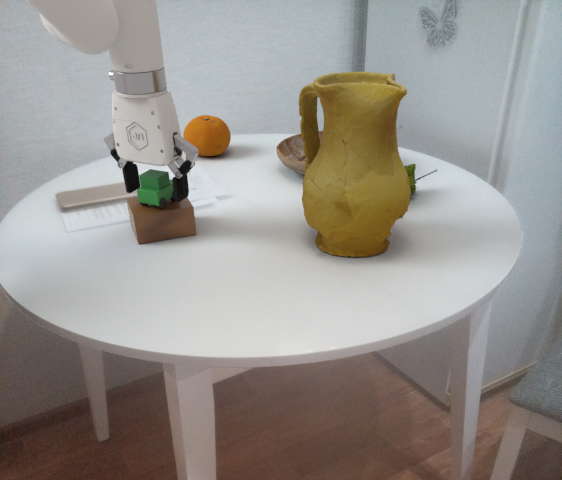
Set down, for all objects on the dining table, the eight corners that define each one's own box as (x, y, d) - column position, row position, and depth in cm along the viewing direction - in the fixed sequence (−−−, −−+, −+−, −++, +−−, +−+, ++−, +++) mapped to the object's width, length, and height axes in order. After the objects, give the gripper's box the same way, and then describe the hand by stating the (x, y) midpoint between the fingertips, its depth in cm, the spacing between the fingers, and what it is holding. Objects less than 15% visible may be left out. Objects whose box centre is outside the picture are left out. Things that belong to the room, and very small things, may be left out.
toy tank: (361, 174, 103) (407, 176, 96) (416, 150, 113) (462, 150, 107) (364, 213, 106) (409, 216, 100) (418, 186, 117) (462, 188, 110)
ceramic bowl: (302, 146, 133) (302, 124, 130) (398, 159, 125) (401, 136, 122) (258, 179, 117) (257, 154, 113) (366, 196, 109) (368, 170, 106)
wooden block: (138, 244, 94) (133, 216, 90) (131, 225, 99) (125, 198, 96) (196, 234, 96) (193, 206, 93) (186, 217, 102) (182, 190, 99)
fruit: (209, 164, 124) (206, 126, 119) (176, 155, 129) (172, 118, 124) (240, 152, 130) (238, 115, 125) (208, 144, 135) (205, 108, 130)
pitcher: (319, 270, 85) (328, 88, 70) (286, 227, 100) (288, 68, 85) (421, 258, 89) (450, 83, 74) (375, 218, 103) (391, 64, 89)
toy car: (160, 210, 92) (156, 180, 89) (138, 206, 93) (133, 176, 90) (180, 198, 96) (176, 168, 93) (158, 194, 98) (154, 165, 94)
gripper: (77, 82, 83) (101, 194, 94) (176, 92, 77) (189, 211, 88) (109, 72, 88) (128, 180, 99) (203, 81, 83) (213, 194, 94)
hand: (157, 194), depth 94 cm, fingers open, 9 cm apart
